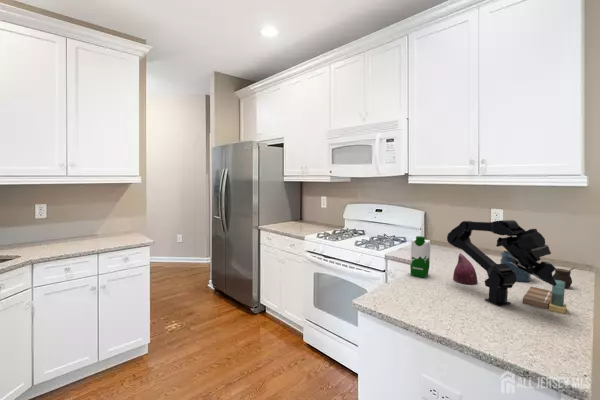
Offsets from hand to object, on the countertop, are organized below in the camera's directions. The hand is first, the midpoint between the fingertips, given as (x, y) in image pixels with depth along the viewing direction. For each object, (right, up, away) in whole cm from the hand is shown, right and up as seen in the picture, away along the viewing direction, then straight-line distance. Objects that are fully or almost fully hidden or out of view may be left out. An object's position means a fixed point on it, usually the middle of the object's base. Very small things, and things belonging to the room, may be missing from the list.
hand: (547, 281), depth 118 cm
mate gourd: (+29, -10, +28) cm, 41 cm away
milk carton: (-33, -8, +41) cm, 53 cm away
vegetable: (-14, -9, +33) cm, 36 cm away
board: (+5, -10, +11) cm, 16 cm away
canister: (+15, -9, +39) cm, 43 cm away
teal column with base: (+4, -11, +1) cm, 12 cm away
